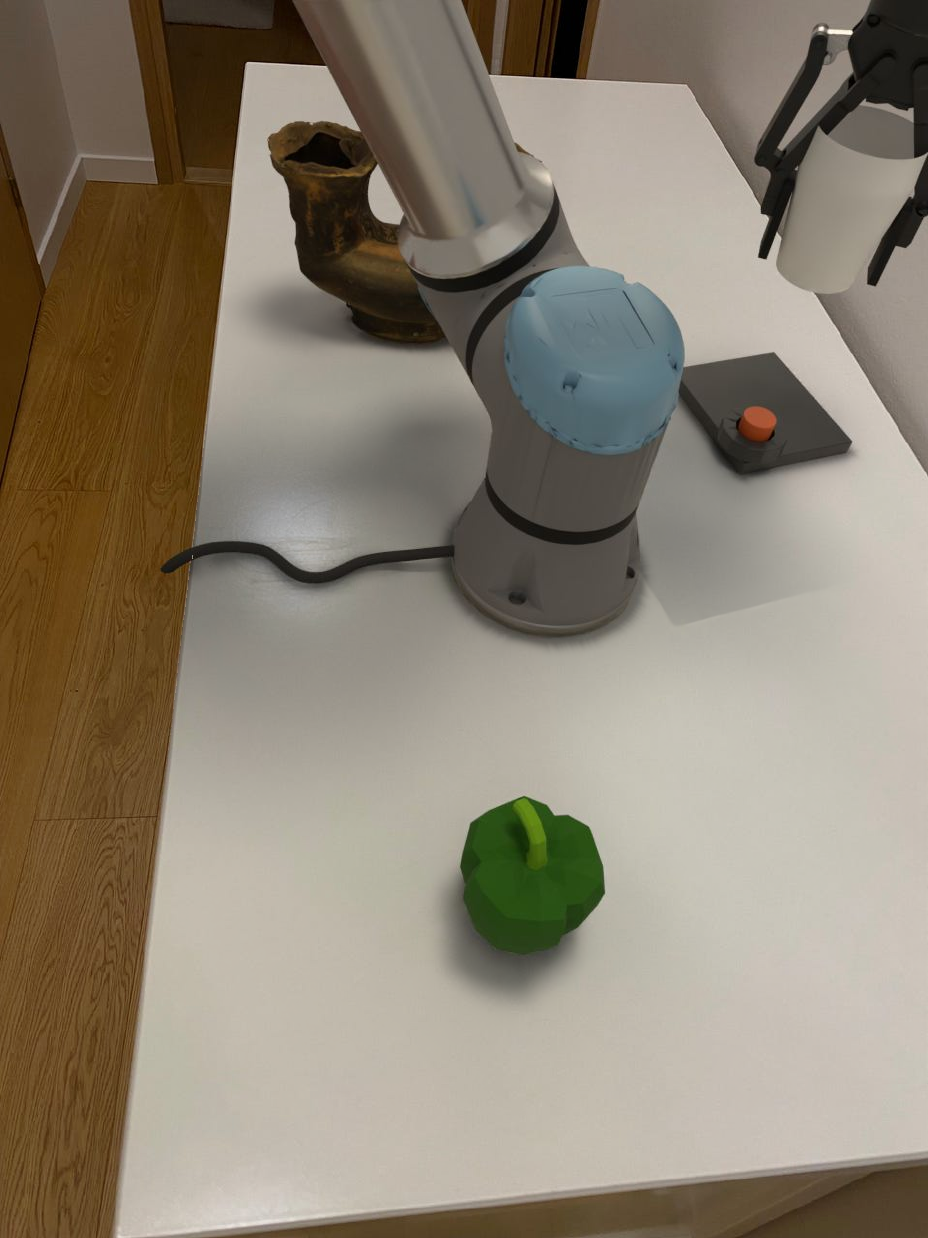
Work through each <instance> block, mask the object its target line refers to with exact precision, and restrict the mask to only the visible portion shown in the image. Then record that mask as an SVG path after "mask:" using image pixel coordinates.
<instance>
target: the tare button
mask: <svg viewBox="0 0 928 1238" xmlns="http://www.w3.org/2000/svg"><path fill="white" fill-rule="evenodd" d="M776 422H777V420H776V417H775V415H774V414H773V413H772V412H771V411H769V410H767V409H765V408H762V407H749V408H747V409H746V410H745V411H744V413H743V416H742V418H741V420H740V423H739V425H738V432H739V433H740V434H741V435H742V436H743V437H745V438H747V439H749V440H751V441H756V442H765V441H767V440H768V439H769V438H770V436H771V434H772V431H773V429H774V427H775V425H776Z"/></svg>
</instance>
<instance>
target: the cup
mask: <svg viewBox="0 0 928 1238" xmlns="http://www.w3.org/2000/svg"><path fill="white" fill-rule="evenodd" d="M927 155H928V152H927V153H926V154H925V155H923V156H921V157H918V158H914V121H911V120H909V119H907V118H906V117H903V116H901V115H899V114H897V113H894V112H891V111H889V110H885V109H881V108H878V107H873V106H868V105H862V104H859V106H858V107H857V108H856V109H855V110H854V111H852V112H850V113H848V114H847V115H846V117H845V118H844V119H843V120H842V121H841V122H840V123H839V124H838V125H837V126H836V127H835V128H834V129H833V130H832V131H831V132H830V133H829V134H828V135H826V134H825V133H824V132H823V131H822V130H821V128H820V127H819V126H818V128H817V130H816V133H815V135H814V137H813V140H812V142H811V144H810V146H809V149H808V151H807V153H806V155H805V157H804V159H803V161H802V162H801V163H800V164H799V165H798V166H797V168H796V170H797V173H796V178H795V186H794V188H793V191H792V194H791V196H790V199H789V203H788V208H787V213H786V216H785V222H784V225H783V229H782V234H781V239H780V242H779V248H778V251H777V256H776V260H775V261H776V262H775V267H776V270H777V271H778V273H779V274H780V276H781V277H782V278H784V279H785V281H786V282H788V283H790V284H791V285H793V286H795V287H797V288H798V289H800V290H804V291H806V292H810V293H813V294H814V293H815V294H819V295H820V294H821V295H833V294H839V293H842V292H845V291H847V290H848V289H850V288H851V286H852V285H853V283H854V282H855V280H856V279H857V277H858V275H859V274H860V273H861V271H862V270H863V268H864V267H865V265H866V263H867V262H868V260H869V259H870V257H872V254H873V253H874V251H876V249H877V247H878V245H879V243H880V241H881V239H882V237H883V236H884V234H885V233H886V231H887V230H888V228H889V227H890V225H891V224H892V222H893V220H894V219H895V217H896V216H897V214H898V213H899V211H900V210H901V208H902V207H903V205H904V204H905V202H906V200H907V199H908V197H909V196H910V197H911V194H912V193H913V191H914V187H915V184H916V182H917V179H918V176H919V174H920V171H921V169H922V166H923V164H924V162H925V159H926V157H927Z"/></svg>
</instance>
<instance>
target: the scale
mask: <svg viewBox="0 0 928 1238" xmlns="http://www.w3.org/2000/svg"><path fill="white" fill-rule="evenodd" d="M679 396H680V397H681V398H682V400H683V402H684V403H685V404H686V405H687V406H688V408H689V409H690V411H692V413H693V414H694V415H695V417H696V418H697V419H698V421H699V422H700V424H701V425H702V427H704V429H705V430H706V432H707V433H708V434H709V435H710V437H711V438H712V440H714V442H715V443H716V445H717V447H719V448H720V450H721V451H722V453H723V454H724V455H725V456H726V458H727V459H728V461H729V462H730V464H732V466H733V467H734V469H735V470H736V471H737V472H738V474H739V475H744V474H749V473H755V472H759V471H764V470H769V469H774V468H778V467H784V466H787V465H792V464H797V463H803V462H806V461H811V460H817V459H821V458H826V457H831V456H835V455H841V454H845V453H847V452H848V451H849V449H850V447H851V446H852V443H853V440H852V439H851V438H850V437H849V436H848V435H847V433H846V432H845V431H844V430H843V429H842V428H841V427H840V426H839V424H838V423H837V422H836V421H835V420H834V419H833V417H832V416H831V415H830V414H829V413H828V412H827V411H826V409H824V407H823V406H822V405H821V404H820V403H819V401H817V399H816V398H815V397H814V395H812V393H811V392H810V391H809V390H808V389H807V387H806V386H805V385H804V384H803V383H802V382H801V381H800V380H799V379H798V378H797V376H796V375H795V374H794V373H793V371H792V370H790V368H789V367H788V366H787V365H786V364H785V362H784V361H782V359H781V358H780V357H779V356H778V355H777V353H775V352H774V351H772V352H766V353H760V354H754V355H753V354H752V355H747V356H742V357H737V358H736V357H735V358H730V359H724V360H718V361H712V362H706V363H700V364H695V365H694V364H693V365H687V366H684V367H683V372H682V376H681V381H680V387H679ZM749 407H762V408H765V409H767V410H769V411H771V412H772V413H773V414H774V415H775V417H776V420H777V422H776V425H775V427H774V429H773V431H772V434H771V436H770V438H769V439H768V440H767V441H765V442H756V441H751V440H749V439H747V438H745V437H743V436H742V435H741V434H740V433H739V432H738V425H739V423H740V420H741V418H742V416H743V413H744V411H745V410H746V409H747V408H749Z"/></svg>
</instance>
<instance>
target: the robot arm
mask: <svg viewBox="0 0 928 1238" xmlns="http://www.w3.org/2000/svg"><path fill="white" fill-rule="evenodd" d="M291 2H292V3H293V5H294V7H295V9H296V11H297V13H298V14H299V17H300V18H301V20H302V22H303V24H304V26H305V28H306V31H308V34H309V36H310V38H311V39H312V41H313V43H314V45H315V47H316V49H317V51H318V52H319V55H320V57H321V58H322V60H323V62H324V64H325V66H326V68H327V70H328V72H329V73H330V75H331V78H332V80H333V81H334V83H335V85H336V87H337V89H338V91H339V92H340V94H341V97H342V99H343V100H344V102H345V104H346V106H347V107H348V110H349V113H350V114H351V116H352V118H353V119H354V121H355V123H356V125H357V127H358V129H359V131H361V133H362V135H363V137H364V138H365V140H366V142H367V144H368V146H369V148H370V150H371V152H372V154H373V156H374V157H375V159H376V161H377V163H378V164H377V166H378V167H379V169H380V171H381V173H382V175H383V177H384V179H385V180H386V182H387V185H388V186H389V188H390V190H391V193H393V195H394V196H393V197H395V199H396V201H397V203H398V205H399V207H400V210H401V211H402V213H403V214H402V216H401V219H400V222H399V224H400V225H399V230H398V247H399V250H400V253H401V255H402V257H403V259H404V261H405V263H406V264H407V266H408V268H409V270H410V272H411V273H412V275H413V277H414V279H415V281H416V283H417V284H418V289H419V292H420V294H421V297H422V299H423V301H424V302H425V304H426V306H427V307H428V309H429V311H430V312H431V314H432V315H433V316H434V318H435V319H436V320H437V321H438V323H439V325H440V326H441V328H442V330H443V332H444V334H445V335H446V337H447V338H446V339H447V341H448V343H449V344H450V346H451V348H452V350H453V351H454V354H455V355H456V358H457V359H458V360H459V361H458V362H460V364H461V366H462V369H464V372H465V373H466V375H467V377H468V379H469V381H470V383H471V385H472V386H473V387H474V389H475V391H476V393H477V395H478V397H479V399H480V401H481V403H482V404H483V406H484V408H485V410H486V411H487V413H488V416H489V419H490V424H491V437H490V443H489V450H488V456H487V462H486V464H487V465H486V469H485V475H484V478H483V480H482V482H481V483H480V485H479V486H478V488H477V489H476V492H475V493H474V494H473V496H472V498H471V500H470V501H468V503H467V505H466V506H465V507H464V509H463V510H462V512H460V513H461V514H460V515H459V517H458V519H457V522H456V525H455V527H454V531H453V534H452V541H451V544H450V545H439V546H438V545H437V546H429V547H421V548H420V547H419V548H410V549H398V550H388V551H387V550H386V551H379V552H373V553H367V554H363V555H360V556H358V557H357V556H356V557H354V558H352V559H349V560H347V561H345V562H343V563H341V564H339V565H337V566H335V567H332V568H330V569H327V570H322V571H309V570H308V571H307V570H303V569H301V568H299V567H298V566H295V565H294V564H293V563H291V562H290V561H288V559H287V558H285V557H284V556H283V555H282V554H280V552H278V551H277V550H275V549H273V548H272V547H270V546H268V545H265V544H262V543H257V542H251V541H242V540H219V541H212V542H211V541H210V542H206V543H202V544H198V545H195V546H192V547H189V548H187V549H185V550H183V551H181V552H178V553H177V554H175V555H174V556H172V557H171V558H169V559H168V560H167V561H166V562H165V563H163V565H162V566H161V567H160V568H159V570H160V572H161V573H163V574H171V573H174V572H175V571H176V570H177V569H179V568H181V567H182V566H185V564H187V563H189V562H191V561H194V560H196V559H199V558H202V557H205V556H211V555H216V554H225V553H226V554H229V553H230V554H231V553H235V554H249V555H256V556H259V557H262V558H264V559H266V560H268V561H269V562H271V563H272V564H273V566H275V567H276V568H277V569H279V571H281V572H282V573H284V574H285V575H286V576H287V577H289V578H290V579H293V580H295V581H296V582H300V583H303V584H309V585H311V584H312V585H314V584H315V585H316V584H317V585H318V584H319V585H320V584H326V583H331V582H334V581H336V580H339V579H341V578H343V577H345V576H347V575H349V574H352V573H354V572H356V571H358V570H361V569H364V568H366V567H371V566H375V565H376V566H377V565H382V564H392V563H393V564H394V563H402V562H403V563H404V562H405V563H406V562H414V561H423V560H433V559H443V558H450V564H451V566H450V567H451V570H452V573H453V576H454V579H455V581H456V583H457V585H458V588H459V589H460V590H461V592H462V593H463V595H464V596H465V598H466V599H467V600H468V601H469V602H470V603H471V604H472V605H473V606H474V607H475V608H476V609H477V610H479V611H480V612H481V613H482V614H483V615H485V616H487V617H488V618H489V619H491V620H493V621H494V622H496V623H498V624H501V625H502V626H505V627H506V628H509V629H512V630H514V631H518V632H521V633H524V634H529V635H534V636H541V637H553V638H556V637H557V638H561V637H562V638H563V637H571V636H577V635H582V634H585V633H586V634H587V633H590V632H592V631H595V630H597V629H600V628H602V627H604V626H605V625H607V624H608V623H610V622H611V621H613V620H614V619H615V618H617V617H618V616H619V615H620V614H621V613H622V612H623V611H624V609H625V608H626V607H627V605H628V604H629V602H630V600H631V598H632V596H633V593H634V591H635V588H636V585H637V583H638V579H639V574H640V569H641V544H640V542H641V535H640V534H641V533H639V524H638V523H640V519H639V518H638V516H637V511H638V508H639V505H640V502H641V500H642V497H643V495H644V491H645V489H646V486H647V483H648V482H649V481H648V480H649V478H650V475H651V472H652V469H653V467H654V464H655V461H656V459H657V456H658V453H659V450H660V447H661V445H662V443H663V439H664V436H665V434H666V432H667V428H668V426H669V422H670V421H671V418H672V415H673V413H674V412H675V410H676V407H677V404H678V401H679V396H680V394H679V387H680V381H681V376H682V372H683V367H685V356H686V355H685V354H686V351H685V344H684V343H685V342H684V338H683V335H682V331H681V328H680V325H679V324H678V321H677V320H676V317H675V316H674V314H673V313H672V311H671V310H670V308H669V307H668V306H667V305H666V304H665V302H664V301H663V300H662V299H661V298H660V297H659V296H658V295H657V294H656V293H654V292H653V291H652V290H651V289H650V288H648V287H647V286H645V285H643V284H642V283H641V282H639V281H637V282H634V283H628V282H626V281H625V275H624V274H623V273H619V272H617V271H614V270H610V269H607V268H603V267H598V266H590V264H589V263H588V261H586V259H585V258H584V256H583V254H582V253H581V251H580V249H579V248H578V245H577V242H576V241H575V239H574V237H573V235H572V232H571V229H570V226H569V222H568V220H567V217H566V215H565V212H564V209H563V207H562V203H561V201H560V198H559V194H558V192H557V189H556V186H555V183H554V180H553V178H552V175H551V174H550V171H549V169H548V168H547V166H545V165H544V163H543V162H542V163H541V162H540V161H541V160H540V159H538V158H537V157H535V156H534V155H533V156H534V157H535V158H534V157H533V156H531V155H532V154H531V155H528V154H525V153H522V152H518V151H517V148H516V146H515V143H516V142H515V140H514V138H513V135H512V133H511V129H510V127H509V124H508V122H507V119H506V116H505V114H504V111H503V108H502V105H501V103H500V101H499V98H498V95H497V93H496V90H495V87H494V85H493V82H492V79H491V77H490V74H489V71H488V69H487V66H486V63H485V60H484V57H483V55H482V52H481V49H480V47H479V44H478V42H477V38H476V36H475V34H474V31H473V29H472V25H471V23H470V19H469V18H468V15H467V12H466V9H465V6H464V4H463V1H462V0H291ZM807 49H808V50H807V54H806V57H805V58H804V60H803V62H802V64H801V66H800V67H799V69H798V71H797V73H796V75H795V77H794V78H793V80H792V81H791V83H790V85H789V87H788V89H787V91H786V93H785V94H784V96H783V98H782V99H781V101H780V103H779V105H778V107H777V108H776V111H775V112H774V114H773V116H772V117H771V119H770V121H769V123H768V124H767V126H766V128H765V129H764V131H763V132H762V135H761V137H760V138H759V140H758V142H757V145H756V149H755V153H754V158H753V162H754V164H755V165H756V166H758V167H760V168H765V169H766V170H767V171H768V172H769V174H770V176H769V179H768V181H767V184H766V187H765V191H764V193H763V196H762V199H761V203H760V214H761V215H764V216H768V217H769V218H768V221H767V223H766V227H765V229H764V232H763V235H762V237H761V240H760V244H759V249H758V254H757V258H758V259H762V260H766V261H767V260H768V257H769V254H770V252H771V249H772V246H773V243H774V241H775V239H776V236H777V233H778V230H779V228H780V226H781V223H782V219H783V217H784V214H785V211H786V210H787V207H788V205H789V203H790V199H791V195H792V191H793V188H794V186H795V178H796V173H797V169H798V165H799V164H800V163H801V162H802V161H803V159H804V157H805V155H806V153H807V151H808V149H809V146H810V144H811V142H812V140H813V137H814V135H815V133H816V130H817V128H818V126H819V127H820V128H821V130H822V131H823V132H824V133H825V134H826V135H828V134H829V133H830V132H831V131H832V130H833V129H834V128H835V127H836V126H837V125H838V124H839V123H840V122H841V121H842V120H843V119H844V118H845V117H846V115H847V114H848V113H850V112H852V111H854V110H855V109H856V108H857V107H858V106H859V105H861V104H862V102H863V101H864V100H865V103H869V104H874V105H884V104H885V105H886V104H888V105H889V106H891V107H893V108H895V109H897V110H900V111H905V112H909V110H910V109H913V113H912V115H913V123H914V158H918V157H921V156H923V155H925V154H926V153H927V152H928V0H869V3H868V6H867V8H866V11H865V12H864V15H863V16H862V17H861V19H860V20H859V21H858V22H857V23H856V24H855V25H854V27H852V29H835V28H830V26H829V25H828V24H827V23H825V22H819V23H817V24H816V25H815V26H814V27H813V28H812V31H811V35H810V40H809V44H808V48H807ZM843 51H847V52H848V57H849V60H850V64H851V65H850V66H851V68H852V69H851V70H852V72H851V73H850V74H849V76H847V77H846V79H845V80H844V81H843V82H842V84H841V85H840V86H839V88H838V89H837V91H836V92H835V93H834V94H833V95H832V96H831V97H830V98H829V99H828V100H827V101H826V103H825V104H823V106H822V107H821V108H820V109H819V110H818V111H817V112H816V113H815V114H814V116H812V117H811V119H810V120H809V121H808V122H807V123H806V124H805V125H804V126H803V127H802V128H801V130H800V131H799V132H798V133H797V134H796V135H795V136H794V137H793V138H792V139H791V140H790V141H789V143H788V144H786V146H784V148H783V149H782V150H781V149H780V148H779V146H780V145H781V142H782V140H783V139H784V138H785V136H786V135H787V133H788V130H789V129H790V127H791V125H792V124H793V123H794V120H795V118H796V117H797V116H798V114H799V112H800V110H801V108H802V107H803V105H804V104H805V102H806V100H807V98H808V96H809V95H810V93H811V91H812V89H813V88H814V86H815V84H816V83H817V81H818V79H819V77H820V74H821V73H822V69H823V66H829V65H832V64H833V63H834V62H835V60H836V58H837V57H838V55H839V54H840V53H841V52H843ZM514 142H515V143H514ZM539 160H540V161H539ZM913 191H914V193H913V196H911V195H910V196H909V197H908V199H907V200H906V202H905V204H904V205H903V207H902V208H901V210H900V211H899V213H898V214H897V216H896V217H895V219H894V220H893V222H892V224H891V225H890V227H889V228H888V230H887V231H886V233H885V234H884V236H883V237H882V239H881V240H880V242H879V243H878V245H877V247H876V249H875V252H874V254H873V256H872V257H871V260H870V262H869V264H868V266H867V277H866V285H868V286H872V287H877V285H878V283H879V282H880V279H881V278H882V275H883V274H884V271H885V269H886V267H887V265H888V263H889V261H890V259H891V256H892V255H893V253H894V251H895V249H896V247H899V248H903V249H907V248H908V247H909V246H910V245H911V244H912V242H913V241H914V239H915V236H916V234H917V233H918V230H919V229H920V226H921V225H922V222H923V220H924V219H925V218H926V217H928V155H927V157H926V159H925V162H924V164H923V166H922V169H921V171H920V174H919V176H918V179H917V182H916V184H915V187H914V189H913ZM192 555H193V559H192Z"/></svg>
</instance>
